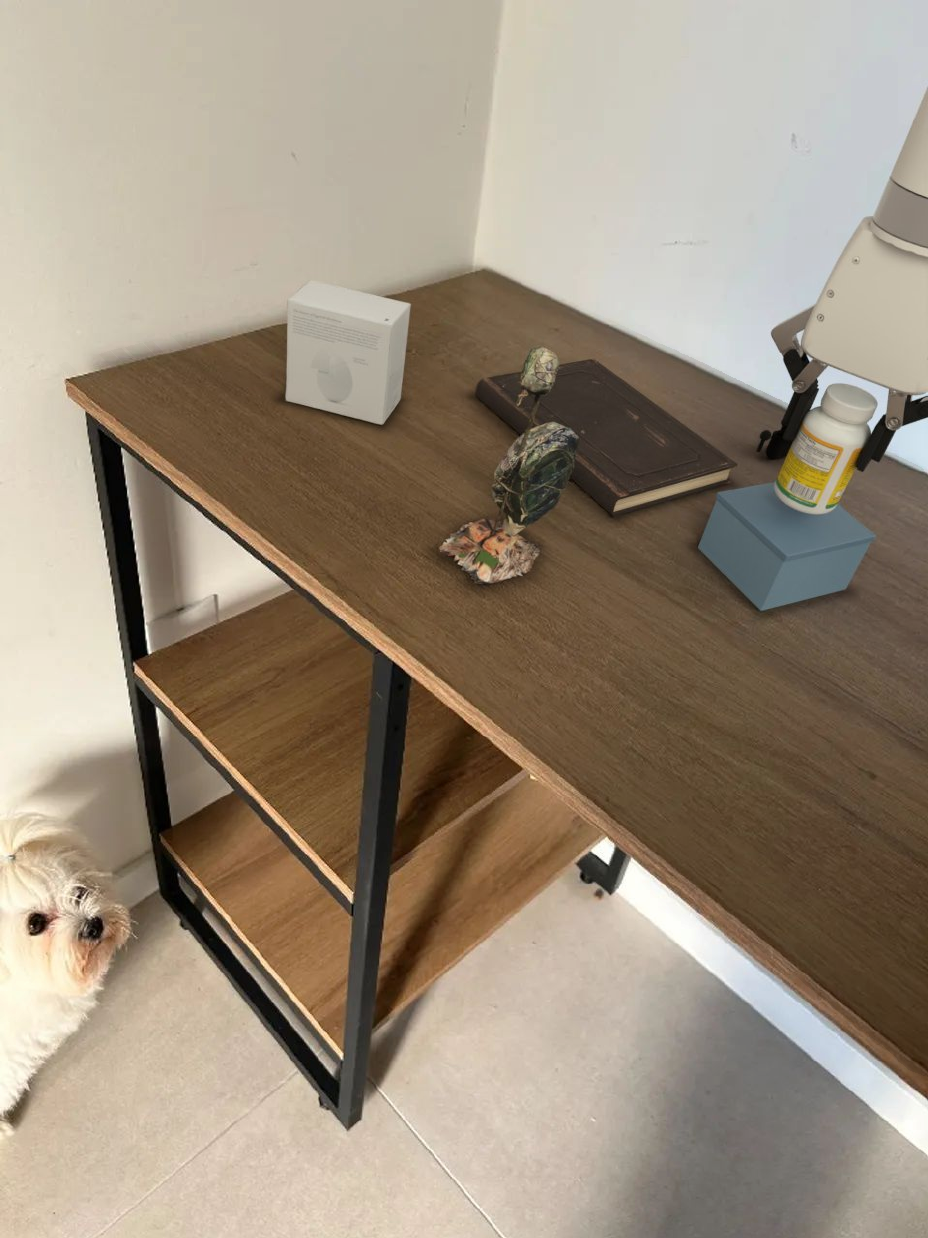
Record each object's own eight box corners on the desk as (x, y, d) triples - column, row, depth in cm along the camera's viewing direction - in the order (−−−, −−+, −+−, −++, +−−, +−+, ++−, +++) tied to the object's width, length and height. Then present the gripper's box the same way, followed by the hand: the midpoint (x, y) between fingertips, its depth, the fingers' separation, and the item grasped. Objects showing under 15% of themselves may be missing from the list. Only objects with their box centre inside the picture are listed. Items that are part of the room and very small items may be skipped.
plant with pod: (580, 563, 80) (643, 345, 67) (470, 597, 74) (515, 367, 61) (526, 511, 84) (575, 298, 71) (419, 539, 79) (451, 314, 66)
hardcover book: (589, 376, 107) (593, 357, 105) (730, 483, 93) (738, 463, 92) (473, 398, 99) (477, 378, 97) (609, 518, 86) (616, 497, 84)
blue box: (847, 590, 82) (877, 535, 78) (760, 612, 78) (787, 556, 74) (779, 529, 88) (804, 476, 84) (695, 547, 84) (717, 492, 80)
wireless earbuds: (794, 448, 101) (812, 407, 97) (810, 460, 99) (829, 419, 96) (747, 457, 98) (764, 415, 94) (763, 470, 96) (780, 428, 93)
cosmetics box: (402, 398, 97) (413, 300, 90) (382, 427, 92) (392, 326, 85) (307, 373, 98) (310, 275, 91) (283, 400, 93) (285, 299, 86)
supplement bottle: (785, 514, 76) (833, 410, 69) (763, 477, 80) (807, 375, 73) (846, 518, 77) (898, 415, 70) (821, 482, 81) (869, 381, 74)
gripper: (1071, 247, 63) (942, 474, 75) (828, 172, 69) (744, 393, 80) (1057, 274, 58) (921, 513, 70) (797, 191, 63) (712, 424, 75)
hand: (827, 447), depth 75 cm, fingers closed on supplement bottle, 5 cm apart
